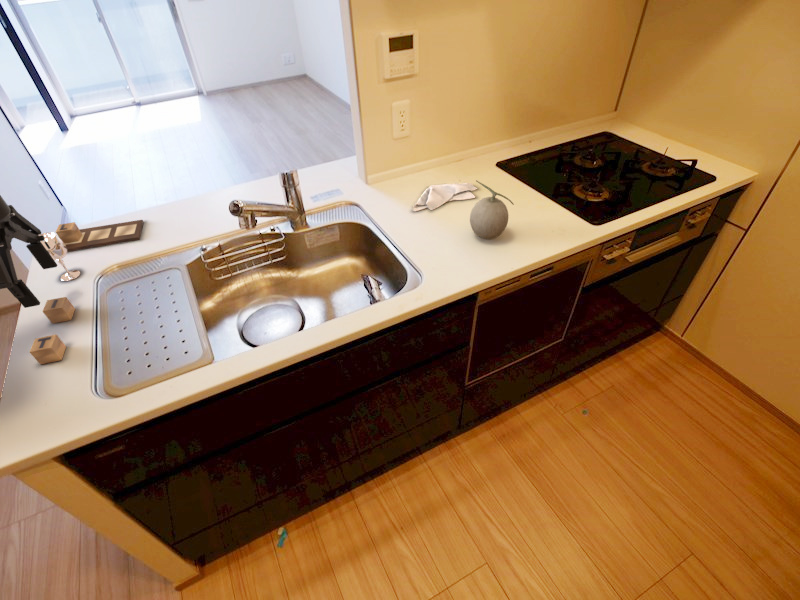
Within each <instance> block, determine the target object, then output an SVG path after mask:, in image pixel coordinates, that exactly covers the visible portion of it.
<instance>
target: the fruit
mask: <svg viewBox="0 0 800 600" xmlns="http://www.w3.org/2000/svg"><path fill="white" fill-rule="evenodd" d="M475 182H476V183H478V184H480V185H481V187H484V188H485V189H487V190H488V192H490V193H491V195H492V196H487V197H482V198H481V199H479V200H478V201H476V202H475V204H474V205H473V206H472V209H471V211H470V215H469V223H470V227H471V230H472V231H473V233H474V234H475V235H476V236H477V237H478V238H481V239H485V240H493V239H496V238H498V237H500V236H501V235H502V233H504V232H505V230H506V228H507V226H508V222H509V211H508V208H507V205H506V204H505V203H504V202H503V200H501V199H499V198H498V197H497V196H500V197H502V198H504V199H506V200H508V202H510V203H511V204H512V205H515V203H514V202H513V201H512V200H511V199H510V198H508V197H506V196H505V195H503V194H501V193H499V192H496V191H495V190H493V189H492V188H490V187H489V186H487V185H485V184H484V183H482V182H480V181H479V180H475Z"/></svg>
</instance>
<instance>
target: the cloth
mask: <svg viewBox="0 0 800 600" xmlns="http://www.w3.org/2000/svg"><path fill="white" fill-rule="evenodd" d="M476 190H478V188H477V187H476V186H475V185H473V183H472V182H462V183H459V182H458V183H457V182H455V183H454V182H453V183H442V184H430V185H429V187H427V188H426V189H425V190H424V191H423V193H422V194H421V196H420V197H419V198H418V200H417V201H416V202H415V203H414V205H413V206H412V211H413V212H418V211H422V210H425V209H428V210H429V211H433V210H435V209H437V208H440V207H441V206H443V205H444V204H445V203H448V202H452V201H453V202H454V201H465V200H471V199H475V198H476V196H475V195H474V194H473V191H476Z"/></svg>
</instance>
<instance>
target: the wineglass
mask: <svg viewBox="0 0 800 600" xmlns="http://www.w3.org/2000/svg"><path fill="white" fill-rule="evenodd" d="M41 235H43V236H44V238H45V240H44V241H40V242H41V243H42V244H43V246H44V247H45V249H46V250H47V251H48V253H49V254H50V255H51V257H52V258H53V260H54V261H55V262H58V264H59V265H61V266H62V267H63V269H64V271H65V272H64V273H63V274H62V275H61V276H60V280H61V281H62V282H69V281H72V280H73V281H74V280H75V279H76V278H78V277H80V275H81V271H80V270H77V269H73V270H69V269H68V267H67V266H66V265H65V262H64V260H63V258H64V257H66V256H67V254H68V252H67V247H66V245H65V244H64V242H63V241H62V240H61V239H60V238H59V236H58V235H57V233H56V232H55V233H54V232H51V231H49V232H42V233H41V234H40V235H39V236H41Z"/></svg>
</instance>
